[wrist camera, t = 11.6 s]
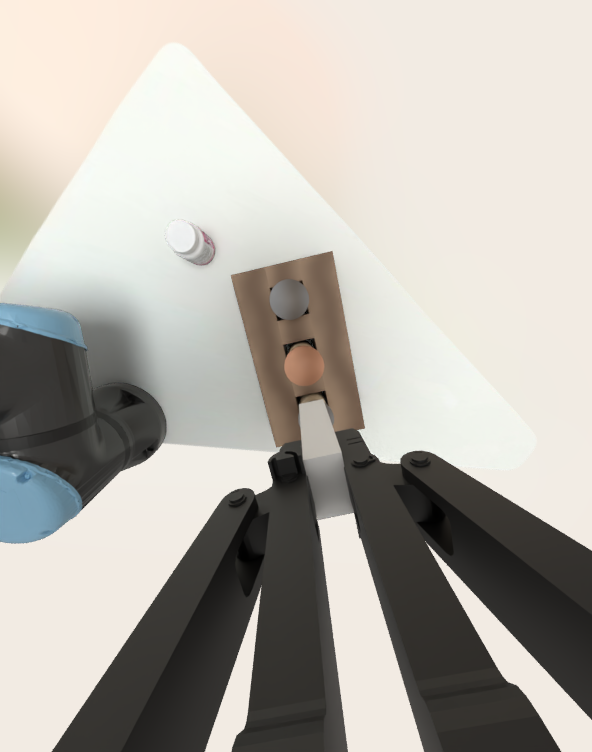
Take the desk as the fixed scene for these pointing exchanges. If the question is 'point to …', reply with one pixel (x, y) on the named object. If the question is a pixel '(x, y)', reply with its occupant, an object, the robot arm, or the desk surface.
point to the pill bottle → (189, 242)
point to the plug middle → (303, 364)
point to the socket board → (316, 323)
